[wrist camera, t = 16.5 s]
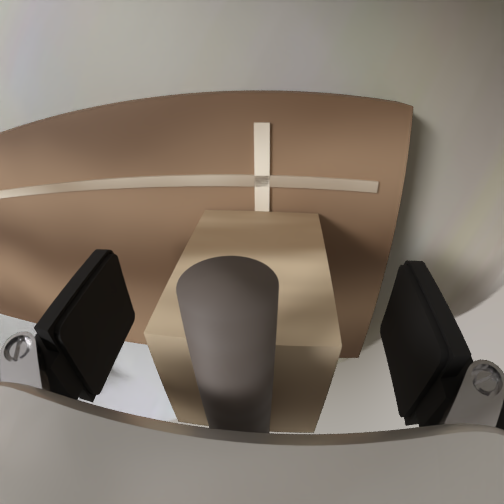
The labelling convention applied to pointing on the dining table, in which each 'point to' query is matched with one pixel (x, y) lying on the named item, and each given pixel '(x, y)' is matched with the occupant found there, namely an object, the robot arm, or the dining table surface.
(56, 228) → the board
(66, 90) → the dining table surface
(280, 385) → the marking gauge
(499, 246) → the dining table surface
